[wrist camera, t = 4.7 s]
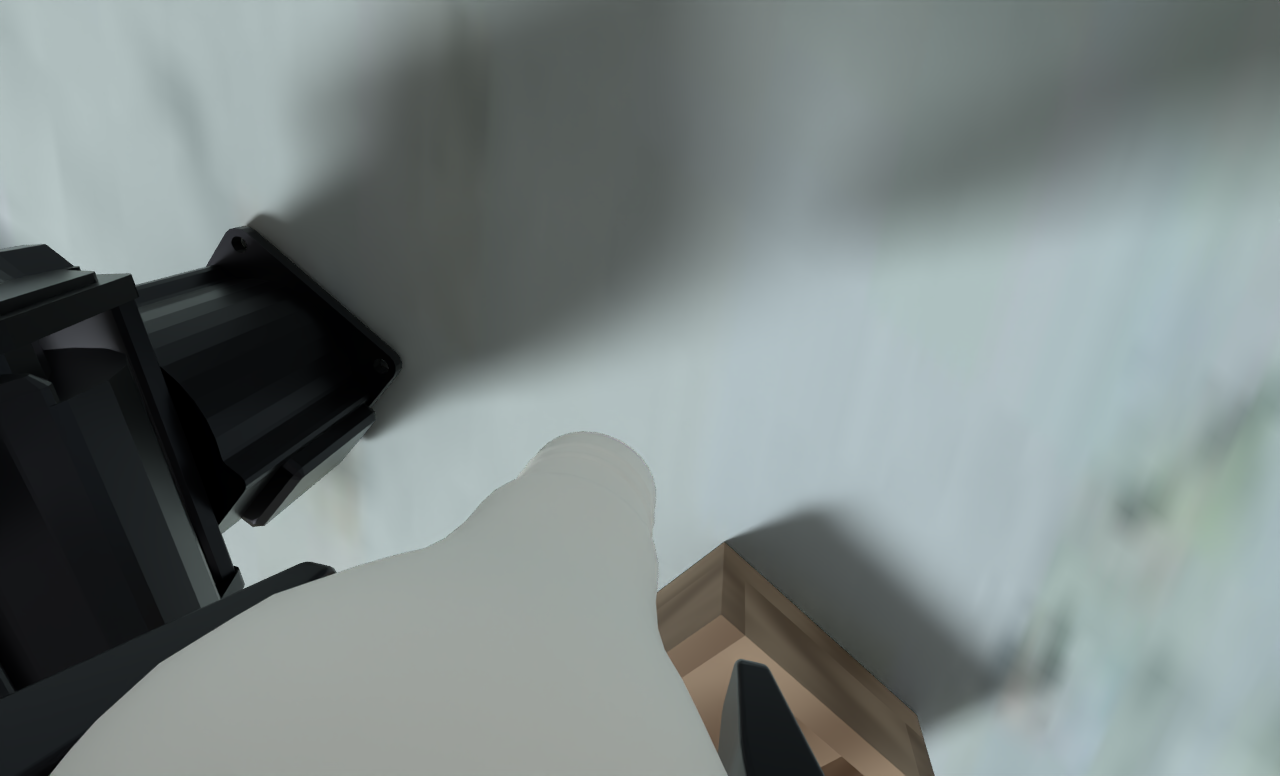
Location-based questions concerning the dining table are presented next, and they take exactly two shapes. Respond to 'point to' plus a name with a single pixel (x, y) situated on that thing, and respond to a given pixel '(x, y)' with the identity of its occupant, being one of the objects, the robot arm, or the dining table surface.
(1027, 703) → the dining table surface
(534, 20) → the dining table surface
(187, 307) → the robot arm
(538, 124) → the dining table surface
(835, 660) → the brown square tray
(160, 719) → the lightbulb
